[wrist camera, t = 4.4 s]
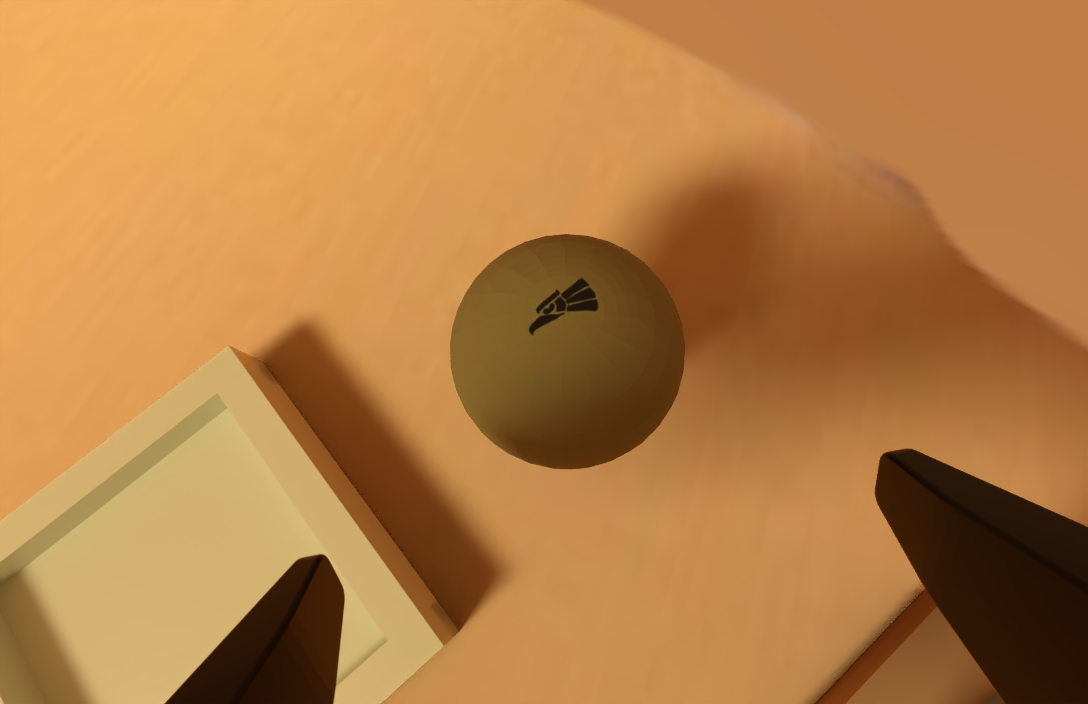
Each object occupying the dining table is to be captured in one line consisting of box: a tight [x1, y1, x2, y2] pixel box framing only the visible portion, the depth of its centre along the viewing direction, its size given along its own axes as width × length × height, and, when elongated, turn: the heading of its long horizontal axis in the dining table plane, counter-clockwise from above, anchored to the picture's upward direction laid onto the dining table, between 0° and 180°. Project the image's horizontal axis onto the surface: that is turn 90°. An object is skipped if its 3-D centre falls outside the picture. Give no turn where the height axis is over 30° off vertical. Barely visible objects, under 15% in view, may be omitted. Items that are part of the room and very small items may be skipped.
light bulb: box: [450, 234, 685, 469], centre depth 16 cm, size 6×6×10 cm
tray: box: [0, 345, 459, 704], centre depth 18 cm, size 12×12×2 cm
